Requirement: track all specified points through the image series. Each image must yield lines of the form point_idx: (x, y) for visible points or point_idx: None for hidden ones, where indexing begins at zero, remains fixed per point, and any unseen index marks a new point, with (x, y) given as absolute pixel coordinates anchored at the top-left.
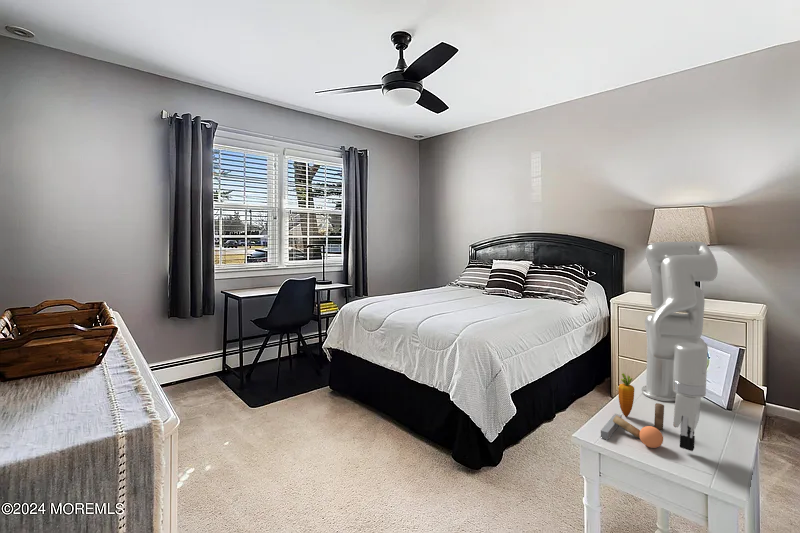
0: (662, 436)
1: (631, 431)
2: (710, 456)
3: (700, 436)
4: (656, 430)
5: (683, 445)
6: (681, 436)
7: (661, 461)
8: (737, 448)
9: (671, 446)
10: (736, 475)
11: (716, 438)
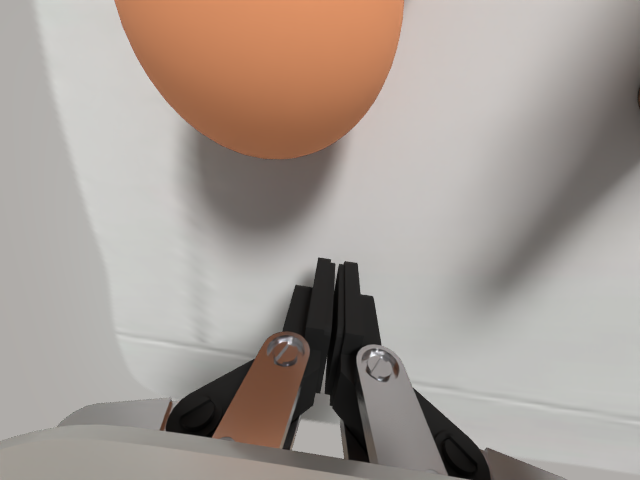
0: (265, 156)
1: None
2: None
3: (581, 330)
4: (206, 77)
5: (294, 290)
6: (307, 321)
7: (136, 150)
8: (487, 426)
9: (374, 195)
10: None
11: (572, 383)
